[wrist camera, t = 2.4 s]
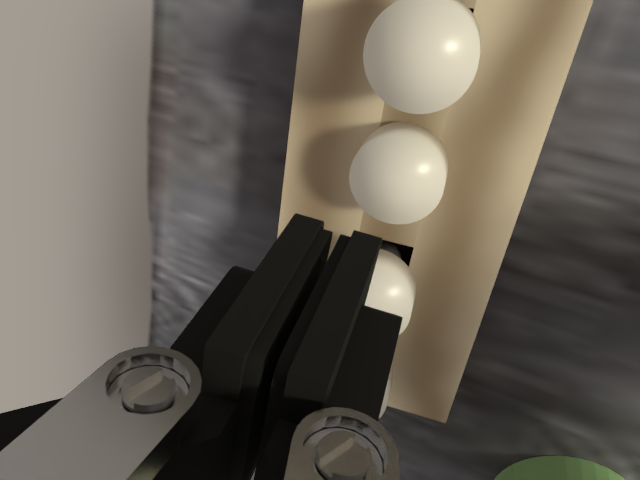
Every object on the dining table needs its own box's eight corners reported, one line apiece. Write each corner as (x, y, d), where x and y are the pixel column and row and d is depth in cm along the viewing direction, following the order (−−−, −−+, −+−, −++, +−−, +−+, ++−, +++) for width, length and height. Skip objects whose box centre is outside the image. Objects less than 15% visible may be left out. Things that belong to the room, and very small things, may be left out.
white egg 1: (462, 114, 30) (455, 147, 25) (441, 192, 32) (432, 234, 28) (378, 96, 30) (357, 125, 26) (363, 174, 33) (342, 211, 28)
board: (596, -43, 25) (606, -38, 23) (449, 390, 39) (445, 423, 36) (331, -86, 27) (313, -86, 25) (277, 340, 41) (262, 368, 38)
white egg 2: (431, 232, 31) (420, 281, 27) (413, 298, 33) (400, 353, 29) (351, 212, 32) (328, 257, 28) (339, 278, 34) (316, 329, 30)
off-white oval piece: (495, -8, 25) (494, 7, 21) (468, 92, 27) (462, 124, 23) (395, -26, 26) (374, -15, 22) (377, 73, 28) (354, 101, 24)
